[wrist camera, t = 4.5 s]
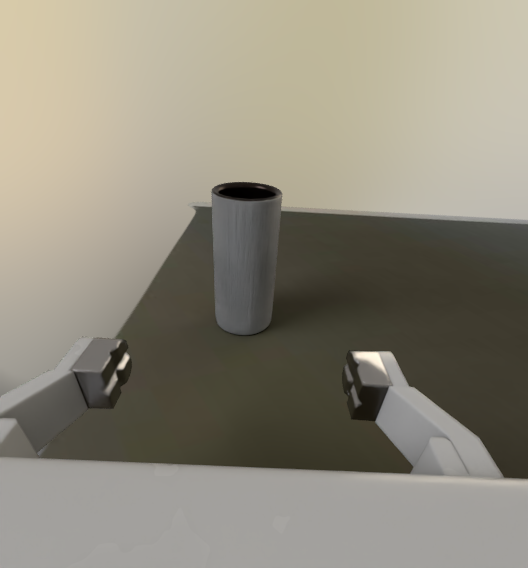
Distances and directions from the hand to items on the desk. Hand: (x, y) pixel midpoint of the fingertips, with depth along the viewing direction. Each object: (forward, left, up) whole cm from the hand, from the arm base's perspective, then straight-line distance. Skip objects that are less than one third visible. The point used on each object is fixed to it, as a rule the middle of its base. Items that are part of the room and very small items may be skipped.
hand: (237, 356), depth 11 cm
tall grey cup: (+11, +4, -7) cm, 14 cm away
